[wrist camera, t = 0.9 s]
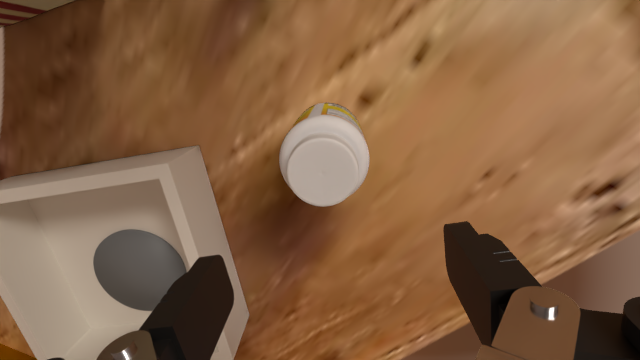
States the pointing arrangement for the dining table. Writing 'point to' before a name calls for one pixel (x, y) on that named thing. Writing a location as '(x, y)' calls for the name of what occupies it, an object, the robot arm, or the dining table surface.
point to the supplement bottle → (324, 155)
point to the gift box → (25, 9)
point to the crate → (107, 249)
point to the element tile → (13, 354)
